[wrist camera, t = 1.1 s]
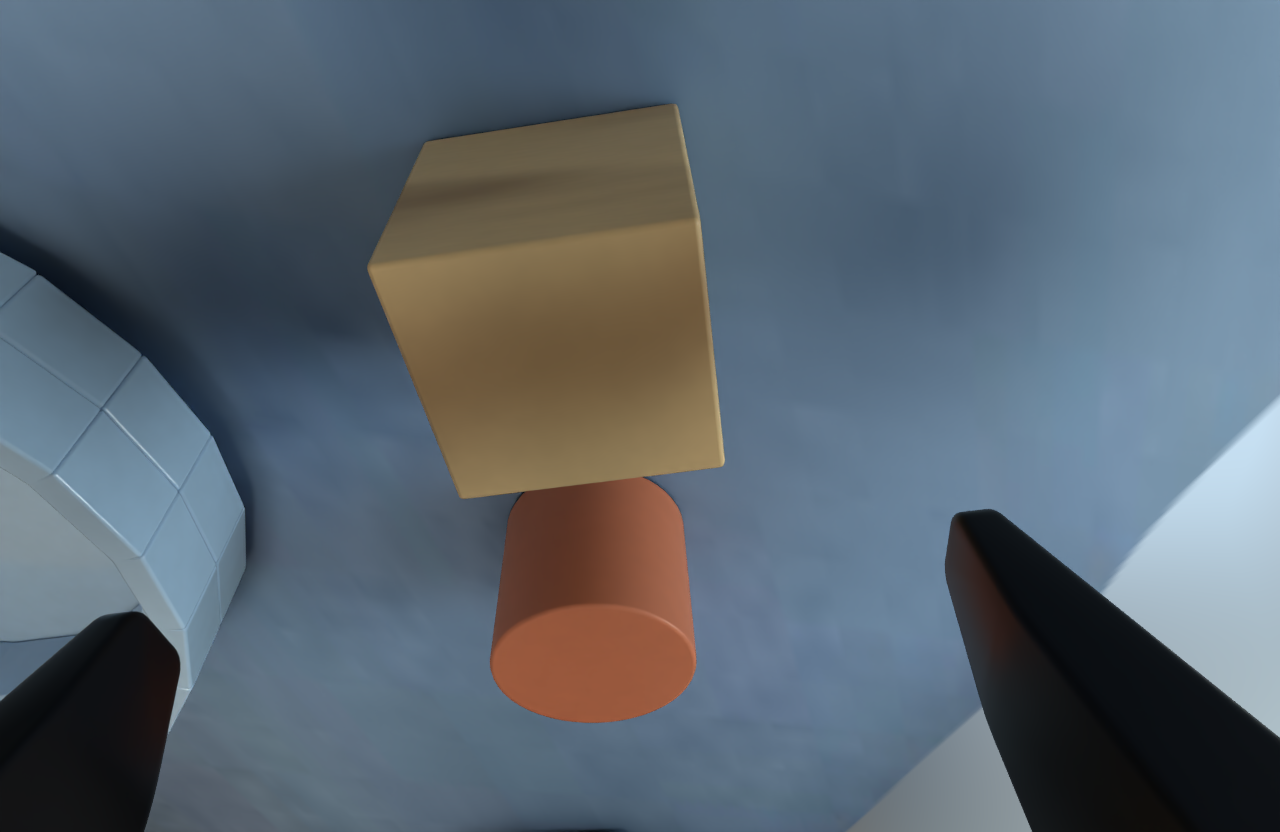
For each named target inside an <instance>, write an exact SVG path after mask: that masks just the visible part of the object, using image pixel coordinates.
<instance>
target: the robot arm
mask: <svg viewBox="0 0 1280 832" xmlns="http://www.w3.org/2000/svg"><path fill="white" fill-rule="evenodd" d="M945 575H946V580H947V585H948V588H949V592H950V596H951V599H952V603H953V606H954V610H955V613H956V617H957V620H958V624H959V627H960V631H961V634H962V638H963V641H964V645H965V648H966V652H967V655H968V659H969V662H970V666H971V669H972V673H973V676H974V680H975V683H976V687H977V690H978V694H979V697H980V701H981V704H982V707H983V710H984V714H985V717H986V719H987V722H988V725H989V727H990V730H991V733H992V735H993V738H994V740H995V743H996V745H997V748H998V750H999V752H1000V755H1001V757H1002V760H1003V762H1004V765H1005V767H1006V769H1007V772H1008V774H1009V777H1010V779H1011V782H1012V784H1013V786H1014V789H1015V791H1016V794H1017V796H1018V799H1019V801H1020V803H1021V806H1022V808H1023V810H1024V813H1025V815H1026V818H1027V820H1028V823H1029V825H1030V827H1031V830H1032V832H1280V738H1279V737H1278V736H1277V735H1276V734H1274V733H1273V732H1272V731H1271V730H1269V729H1268V728H1267V727H1266V726H1265V725H1263V724H1262V723H1261V722H1259V721H1258V720H1257V719H1256V718H1255V717H1253V716H1252V715H1251V714H1250V713H1248V712H1247V711H1246V710H1245V709H1243V708H1242V707H1241V706H1240V705H1238V704H1237V703H1236V702H1235V701H1233V700H1232V699H1231V698H1230V697H1228V696H1227V695H1226V694H1225V693H1223V692H1222V691H1221V690H1220V689H1218V688H1217V687H1216V686H1215V685H1213V684H1212V683H1211V682H1210V681H1209V680H1207V679H1206V678H1205V677H1204V676H1202V675H1201V674H1200V673H1199V672H1197V671H1196V670H1195V669H1194V668H1192V667H1191V666H1190V665H1188V664H1187V663H1186V662H1185V661H1183V660H1182V659H1181V658H1180V657H1179V656H1177V655H1176V654H1175V653H1174V652H1172V651H1171V650H1170V649H1169V648H1167V647H1166V646H1165V645H1164V644H1162V643H1161V642H1160V641H1159V640H1157V639H1156V638H1155V637H1154V636H1153V635H1151V634H1150V633H1149V632H1148V631H1146V630H1145V629H1144V628H1143V627H1141V626H1140V625H1139V624H1138V623H1136V622H1135V621H1134V620H1133V619H1131V618H1130V617H1129V616H1128V615H1126V614H1125V613H1124V612H1123V611H1121V610H1120V609H1119V608H1118V607H1116V606H1115V605H1114V604H1113V603H1111V602H1110V601H1109V600H1108V599H1107V598H1105V597H1104V596H1103V595H1102V594H1100V593H1099V592H1098V591H1097V590H1095V589H1094V588H1093V587H1092V586H1090V585H1089V584H1088V583H1087V582H1085V581H1084V580H1083V579H1082V578H1080V577H1079V576H1078V575H1077V574H1075V573H1074V572H1073V571H1072V570H1070V569H1069V568H1068V567H1067V566H1065V565H1064V564H1063V563H1062V562H1061V561H1059V560H1058V559H1057V558H1056V557H1054V556H1053V555H1052V554H1051V553H1049V552H1048V551H1047V550H1046V549H1044V548H1043V547H1042V546H1041V545H1039V544H1038V543H1037V542H1036V541H1034V540H1033V539H1032V538H1031V537H1029V536H1028V535H1027V534H1026V533H1024V532H1023V531H1022V530H1021V529H1019V528H1018V527H1017V526H1016V525H1014V524H1013V523H1012V522H1011V521H1010V520H1008V519H1007V518H1006V517H1005V516H1003V515H1002V514H1001V513H999V512H997V511H995V510H992V509H983V510H974V511H966V512H959V513H957V514H955V515H954V517H953V518H952V521H951V526H950V532H949V539H948V545H947V552H946V559H945ZM180 670H181V662H180V657H179V654H178V652H177V650H176V649H175V647H174V646H173V645H172V644H171V643H170V642H169V641H168V639H167V638H166V637H165V636H164V635H163V634H162V633H161V631H160V630H159V629H158V628H157V627H156V626H155V625H154V624H153V622H152V621H151V620H150V619H149V618H148V617H147V616H146V615H145V614H143V613H141V612H138V611H129V612H121V613H112V614H106V615H103V616H100V617H99V618H97V619H95V620H94V621H93V622H91V623H90V624H89V625H88V626H87V627H86V628H84V629H83V630H82V631H81V632H80V633H79V634H77V635H76V636H75V637H74V638H73V639H72V640H70V641H69V642H68V643H67V644H66V645H65V646H63V647H62V648H61V649H60V650H59V651H58V652H56V653H55V654H54V655H53V656H52V657H51V658H49V659H48V660H47V661H46V662H45V663H44V664H43V665H41V666H40V667H39V668H38V669H37V670H36V671H34V672H33V673H32V674H31V675H30V676H29V677H27V678H26V679H25V680H24V681H23V682H22V683H20V684H19V685H18V686H17V687H16V688H15V689H13V690H12V691H11V692H10V693H9V694H8V695H6V696H5V697H4V698H3V699H2V700H1V701H0V832H144V830H145V827H146V824H147V820H148V817H149V813H150V810H151V806H152V803H153V799H154V794H155V790H156V786H157V782H158V777H159V773H160V768H161V763H162V758H163V753H164V749H165V744H166V739H167V734H168V729H169V724H170V720H171V715H172V710H173V705H174V700H175V696H176V691H177V686H178V681H179V676H180Z"/></svg>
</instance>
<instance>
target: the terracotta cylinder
mask: <svg viewBox="0 0 1280 832" xmlns="http://www.w3.org/2000/svg"><path fill="white" fill-rule="evenodd" d="M696 663H697V662H696V649H695V639H694V628H693V618H692V608H691V598H690V588H689V577H688V567H687V557H686V547H685V537H684V526H683V520H682V516H681V513H680V511H679V509H678V507H677V505H676V504H675V502H674V501H673V500H672V498H671V497H670V496H669V495H668V494H667V493H666V492H665V491H664V490H663V489H661V488H660V487H659V486H658V485H656V484H654V483H653V482H651V481H649V480H648V479H645V478H643V477H638V478H630V479H622V480H613V481H605V482H597V483H589V484H581V485H573V486H565V487H557V488H549V489H541V490H533V491H526V492H525V493H524V494H523V495H521V497H520V498H519V499H518V501H517V502H516V503H515V505H514V506H513V508H512V510H511V512H510V515H509V518H508V524H507V532H506V539H505V547H504V555H503V563H502V571H501V578H500V586H499V594H498V602H497V609H496V617H495V625H494V633H493V641H492V648H491V656H490V668H491V672H492V675H493V678H494V680H495V682H496V684H497V685H498V687H499V688H500V689H501V691H502V692H503V693H504V694H505V695H506V696H507V697H509V698H510V699H511V700H512V701H514V702H515V703H517V704H518V705H520V706H522V707H524V708H526V709H528V710H530V711H532V712H535V713H537V714H540V715H543V716H546V717H550V718H554V719H559V720H564V721H571V722H584V723H600V722H613V721H620V720H625V719H630V718H634V717H638V716H641V715H645V714H647V713H650V712H652V711H655V710H657V709H659V708H661V707H663V706H665V705H667V704H668V703H670V702H671V701H673V700H674V699H675V698H677V697H678V696H679V695H680V694H681V693H682V692H683V691H684V690H685V689H686V688H687V686H688V685H689V683H690V682H691V680H692V677H693V675H694V672H695V669H696Z"/></svg>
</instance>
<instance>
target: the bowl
mask: <svg viewBox="0 0 1280 832" xmlns="http://www.w3.org/2000/svg"><path fill="white" fill-rule="evenodd" d="M245 568H246V543H245V508H244V505H243V502H242V500H241V498H240V496H239V493H238V491H237V489H236V487H235V485H234V482H233V480H232V478H231V476H230V473H229V471H228V469H227V467H226V464H225V462H224V460H223V458H222V455H221V453H220V451H219V449H218V446H217V444H216V442H215V440H214V437H213V436H211V434H210V432H209V430H208V429H207V428H206V427H205V426H204V425H203V423H202V422H201V421H200V420H199V419H198V417H197V416H196V415H195V414H194V413H193V412H192V410H191V409H190V408H189V407H188V406H187V404H186V403H185V402H184V401H183V400H182V399H181V397H180V396H179V395H178V394H177V393H176V391H175V390H174V389H173V388H172V387H171V386H170V384H169V383H168V382H167V381H166V380H165V378H164V377H163V376H162V375H161V374H160V373H159V371H158V370H157V369H156V368H155V367H154V365H153V364H152V363H151V362H150V361H149V360H148V358H147V357H145V356H141V353H140V351H138V350H137V349H136V348H134V347H133V346H132V345H130V344H129V343H128V342H127V341H125V340H124V339H123V338H121V337H120V336H119V335H118V334H116V333H115V332H114V331H112V330H111V329H110V328H109V327H107V326H106V325H105V324H103V323H102V322H101V321H99V320H98V319H97V318H96V317H94V316H93V315H92V314H90V313H89V312H88V311H87V310H85V309H84V308H83V307H81V306H80V305H79V304H78V303H76V302H75V301H74V300H72V299H71V298H70V297H68V296H67V295H66V294H65V293H63V292H62V291H61V290H59V289H58V288H57V287H56V286H54V285H53V284H52V283H50V282H49V281H48V280H47V279H45V278H44V277H43V276H40V275H36V271H35V270H34V269H32V268H30V267H28V266H26V265H24V264H22V263H20V262H18V261H16V260H14V259H13V258H11V257H9V256H7V255H5V254H3V253H1V252H0V701H1V700H2V699H3V698H4V697H5V696H6V695H8V694H9V693H10V692H11V691H12V690H13V689H15V688H16V687H17V686H18V685H19V684H20V683H22V682H23V681H24V680H25V679H26V678H27V677H29V676H30V675H31V674H32V673H33V672H34V671H36V670H37V669H38V668H39V667H40V666H41V665H43V664H44V663H45V662H46V661H47V660H48V659H49V658H51V657H52V656H53V655H54V654H55V653H56V652H58V651H59V650H60V649H61V648H62V647H63V646H65V645H66V644H67V643H68V642H69V641H70V640H72V639H73V638H74V637H75V636H76V635H77V634H79V633H80V632H81V631H82V630H83V629H84V628H86V627H87V626H88V625H89V624H90V623H91V622H93V621H94V620H95V619H97V618H99V617H100V616H103V615H106V614H112V613H121V612H129V611H138V612H141V613H143V614H145V615H146V616H147V617H148V618H149V619H150V620H151V621H152V622H153V624H154V625H155V626H156V627H157V628H158V629H159V630H160V631H161V633H162V634H163V635H164V636H165V637H166V638H167V639H168V641H169V642H170V643H171V644H172V645H173V646H174V647H175V649H176V650H177V652H178V654H179V657H180V662H181V670H180V676H179V681H178V686H177V691H176V696H175V700H174V705H173V710H172V715H171V720H170V724H169V729H168V734H169V733H170V731H171V729H172V727H173V725H174V723H175V721H176V719H177V718H178V716H179V714H180V712H181V710H182V708H183V706H184V704H185V702H186V700H187V698H188V697H189V695H190V693H191V691H192V689H193V687H194V684H195V682H196V680H197V677H198V675H199V673H200V671H201V668H202V666H203V664H204V662H205V659H206V657H207V655H208V653H209V650H210V648H211V646H212V643H213V641H214V639H215V637H216V634H217V632H218V630H219V627H220V625H221V623H222V621H223V619H224V616H225V614H226V612H227V609H228V607H229V605H230V603H231V600H232V598H233V596H234V594H235V591H236V589H237V587H238V585H239V582H240V580H241V578H242V575H243V573H244V571H245ZM168 734H167V735H168Z"/></svg>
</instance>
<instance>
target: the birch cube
mask: <svg viewBox="0 0 1280 832" xmlns="http://www.w3.org/2000/svg"><path fill="white" fill-rule="evenodd" d="M367 270H368V273H369V275H370V278H371V280H372V283H373V285H374V288H375V290H376V293H377V295H378V298H379V300H380V302H381V305H382V307H383V310H384V312H385V315H386V317H387V320H388V322H389V325H390V327H391V330H392V332H393V334H394V337H395V339H396V342H397V344H398V347H399V349H400V352H401V354H402V357H403V359H404V362H405V364H406V366H407V369H408V371H409V374H410V376H411V379H412V381H413V384H414V386H415V389H416V391H417V394H418V396H419V398H420V401H421V403H422V406H423V408H424V411H425V413H426V416H427V418H428V421H429V423H430V426H431V428H432V431H433V433H434V435H435V438H436V440H437V443H438V445H439V448H440V450H441V453H442V455H443V458H444V460H445V463H446V465H447V467H448V470H449V472H450V475H451V477H452V480H453V482H454V485H455V487H456V490H457V492H458V495H459V497H460V498H462V499H468V498H476V497H485V496H493V495H501V494H509V493H517V492H525V491H533V490H541V489H549V488H557V487H565V486H573V485H581V484H589V483H597V482H605V481H613V480H622V479H630V478H638V477H646V476H654V475H662V474H670V473H678V472H686V471H694V470H702V469H710V468H718V467H722V466H723V465H724V462H725V457H724V447H723V437H722V427H721V418H720V408H719V398H718V388H717V378H716V368H715V358H714V348H713V339H712V329H711V319H710V309H709V299H708V289H707V279H706V269H705V260H704V250H703V240H702V230H701V221H700V216H699V211H698V206H697V201H696V196H695V190H694V185H693V180H692V175H691V170H690V165H689V160H688V155H687V150H686V145H685V140H684V135H683V130H682V125H681V120H680V114H679V109H678V107H677V105H676V104H667V105H660V106H654V107H647V108H641V109H634V110H628V111H621V112H615V113H608V114H602V115H595V116H589V117H582V118H576V119H569V120H563V121H556V122H550V123H543V124H537V125H531V126H524V127H518V128H511V129H505V130H498V131H492V132H485V133H479V134H472V135H466V136H459V137H453V138H446V139H440V140H433V141H427V142H426V143H424V145H423V147H422V149H421V151H420V153H419V155H418V158H417V160H416V162H415V164H414V166H413V168H412V171H411V173H410V175H409V177H408V179H407V181H406V183H405V186H404V188H403V190H402V192H401V194H400V196H399V199H398V201H397V203H396V205H395V207H394V209H393V211H392V214H391V216H390V218H389V220H388V222H387V224H386V227H385V229H384V231H383V233H382V235H381V237H380V240H379V242H378V244H377V246H376V248H375V250H374V252H373V255H372V257H371V259H370V261H369V263H368V266H367Z"/></svg>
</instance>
